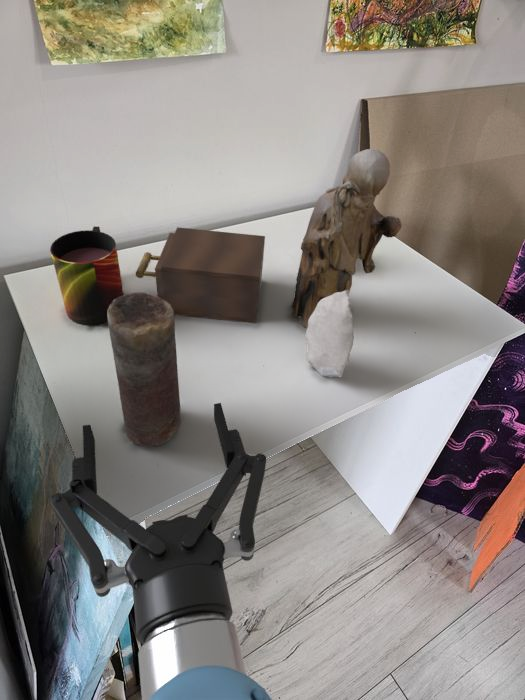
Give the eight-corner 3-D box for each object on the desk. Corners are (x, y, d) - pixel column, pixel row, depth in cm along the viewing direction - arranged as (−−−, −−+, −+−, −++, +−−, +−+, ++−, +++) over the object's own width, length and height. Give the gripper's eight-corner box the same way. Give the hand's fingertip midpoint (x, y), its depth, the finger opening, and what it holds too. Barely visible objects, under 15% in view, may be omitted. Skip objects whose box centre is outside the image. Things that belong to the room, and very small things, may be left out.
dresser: (164, 314, 84) (160, 266, 77) (179, 272, 93) (177, 227, 86) (255, 323, 84) (259, 276, 77) (261, 280, 93) (265, 235, 86)
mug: (107, 273, 91) (96, 214, 83) (133, 315, 83) (124, 254, 75) (53, 286, 87) (36, 225, 79) (75, 332, 79) (59, 269, 71)
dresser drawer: (133, 304, 84) (128, 266, 78) (150, 267, 92) (146, 230, 87) (243, 315, 83) (245, 277, 78) (249, 277, 92) (251, 240, 86)
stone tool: (294, 358, 78) (306, 280, 68) (308, 349, 80) (322, 272, 69) (336, 392, 73) (357, 314, 63) (350, 383, 75) (373, 305, 65)
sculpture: (295, 341, 81) (323, 161, 60) (275, 301, 88) (294, 129, 68) (379, 328, 85) (432, 155, 64) (353, 291, 92) (394, 126, 72)
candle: (151, 397, 70) (137, 282, 56) (193, 420, 68) (188, 305, 54) (113, 433, 65) (87, 316, 51) (157, 459, 63) (142, 343, 49)
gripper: (26, 694, 38) (39, 464, 52) (328, 608, 44) (264, 423, 58) (-3, 666, 32) (20, 419, 47) (343, 573, 38) (268, 380, 53)
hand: (155, 421), depth 53 cm, fingers open, 13 cm apart
